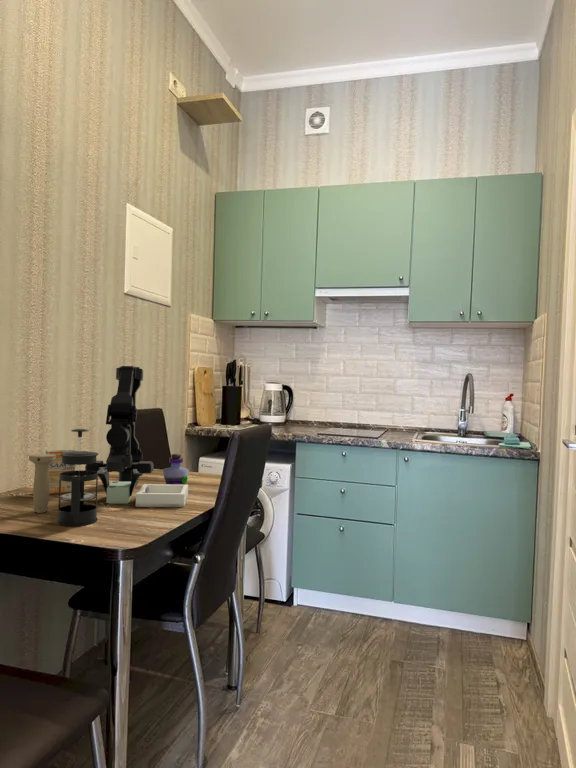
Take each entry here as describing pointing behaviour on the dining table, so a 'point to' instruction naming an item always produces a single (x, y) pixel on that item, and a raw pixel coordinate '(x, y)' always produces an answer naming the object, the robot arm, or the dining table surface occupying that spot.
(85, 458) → the french press
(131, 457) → the robot arm
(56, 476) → the supplement box
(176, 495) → the cabinet carcass
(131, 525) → the dining table surface
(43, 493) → the handle
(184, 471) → the potion bottle
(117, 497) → the green box with knobs
